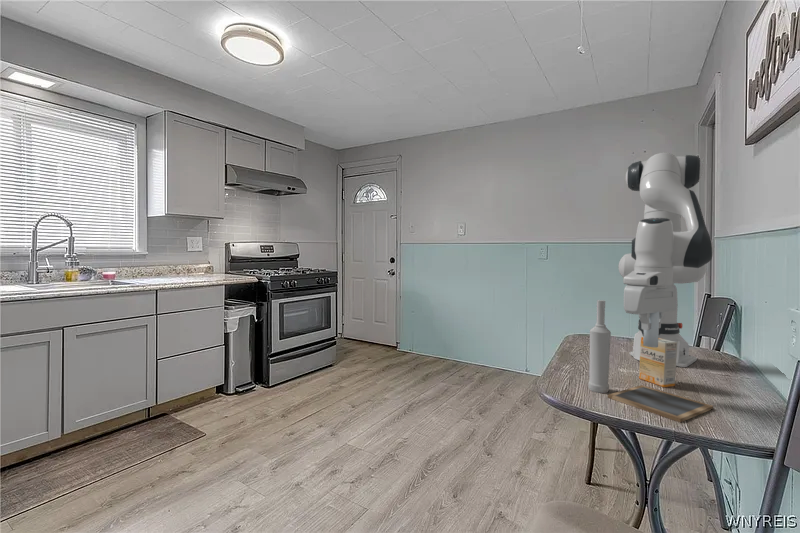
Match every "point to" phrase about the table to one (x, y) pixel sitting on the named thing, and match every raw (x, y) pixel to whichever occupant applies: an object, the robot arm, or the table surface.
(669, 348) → the supplement box
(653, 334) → the chalk
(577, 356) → the table surface
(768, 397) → the table surface
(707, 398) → the table surface
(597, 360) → the bottle
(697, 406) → the slate board
